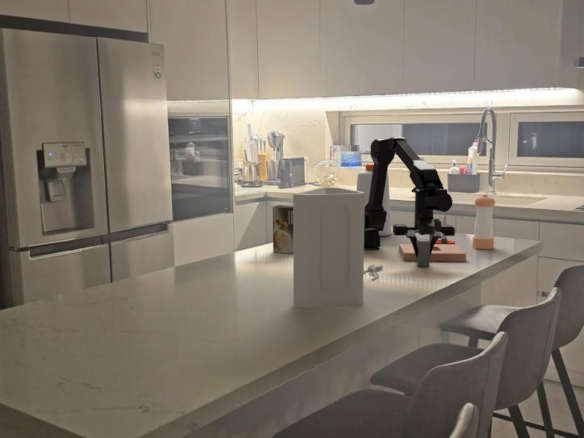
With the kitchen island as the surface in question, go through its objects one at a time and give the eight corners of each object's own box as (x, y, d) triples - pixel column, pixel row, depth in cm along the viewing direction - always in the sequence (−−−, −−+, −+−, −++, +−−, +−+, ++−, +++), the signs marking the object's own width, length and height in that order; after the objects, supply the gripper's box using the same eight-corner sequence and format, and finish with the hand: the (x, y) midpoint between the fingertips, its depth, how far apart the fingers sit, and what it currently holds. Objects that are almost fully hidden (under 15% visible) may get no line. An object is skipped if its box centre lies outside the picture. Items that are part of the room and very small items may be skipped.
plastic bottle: (354, 229, 277) (355, 163, 273) (390, 230, 275) (392, 163, 271) (352, 236, 263) (353, 165, 258) (391, 237, 260) (392, 165, 256)
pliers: (342, 272, 195) (362, 263, 208) (342, 277, 195) (362, 268, 208) (373, 276, 190) (392, 266, 203) (373, 281, 191) (392, 271, 203)
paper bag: (348, 313, 158) (349, 197, 154) (292, 306, 165) (292, 194, 160) (374, 294, 175) (376, 189, 171) (322, 288, 182) (323, 186, 177)
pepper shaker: (496, 249, 236) (498, 195, 233) (475, 249, 236) (477, 195, 233) (490, 245, 243) (492, 193, 240) (470, 245, 243) (472, 193, 240)
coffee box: (303, 251, 233) (303, 205, 231) (296, 254, 227) (296, 208, 225) (279, 249, 237) (279, 204, 234) (272, 252, 231) (271, 206, 229)
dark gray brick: (417, 266, 208) (418, 241, 206) (415, 262, 213) (416, 238, 211) (429, 266, 207) (430, 241, 206) (426, 263, 212) (427, 238, 211)
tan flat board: (404, 260, 217) (404, 253, 217) (398, 250, 233) (399, 243, 233) (465, 261, 216) (466, 253, 216) (456, 251, 232) (456, 244, 232)
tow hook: (431, 242, 252) (432, 245, 243) (432, 208, 251) (433, 210, 242) (453, 243, 251) (455, 246, 242) (455, 209, 250) (457, 211, 240)
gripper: (396, 211, 200) (395, 262, 202) (459, 211, 199) (457, 262, 201) (393, 206, 211) (392, 254, 213) (452, 206, 210) (450, 255, 212)
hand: (422, 256), depth 210 cm, fingers closed on dark gray brick, 3 cm apart
